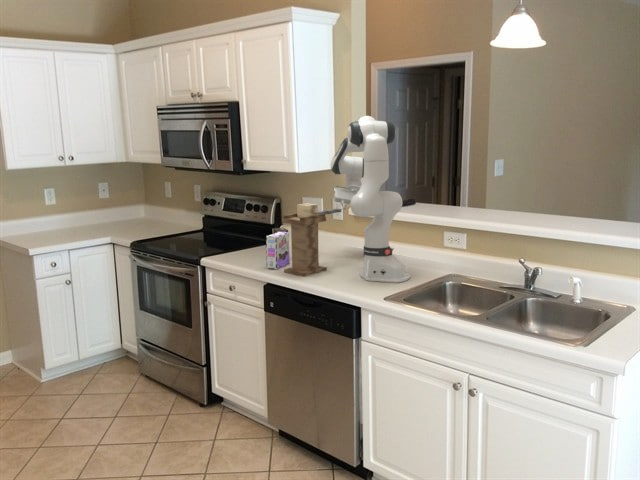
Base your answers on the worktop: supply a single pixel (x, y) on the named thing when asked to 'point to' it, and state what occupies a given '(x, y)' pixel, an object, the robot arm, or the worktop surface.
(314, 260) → the walnut stand
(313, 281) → the worktop surface
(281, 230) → the coffee box
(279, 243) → the candy box
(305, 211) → the beech block
